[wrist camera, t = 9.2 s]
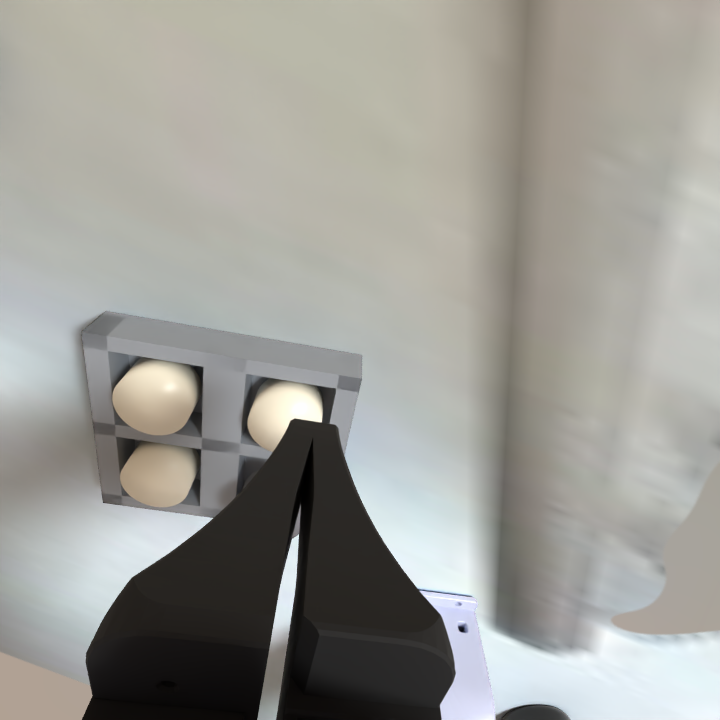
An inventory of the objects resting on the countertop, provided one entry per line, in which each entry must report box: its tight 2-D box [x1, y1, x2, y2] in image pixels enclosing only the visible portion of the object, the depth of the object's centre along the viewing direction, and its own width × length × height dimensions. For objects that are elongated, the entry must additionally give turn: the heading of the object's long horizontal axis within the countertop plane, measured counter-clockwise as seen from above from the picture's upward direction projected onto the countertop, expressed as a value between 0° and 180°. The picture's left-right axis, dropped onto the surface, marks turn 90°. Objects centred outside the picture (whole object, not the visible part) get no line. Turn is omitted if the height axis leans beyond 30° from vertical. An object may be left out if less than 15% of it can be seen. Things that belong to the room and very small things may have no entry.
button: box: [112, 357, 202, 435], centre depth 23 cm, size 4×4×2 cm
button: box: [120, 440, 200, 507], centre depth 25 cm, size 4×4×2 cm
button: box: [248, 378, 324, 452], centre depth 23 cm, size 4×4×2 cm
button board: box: [81, 311, 362, 518], centre depth 25 cm, size 13×11×2 cm
